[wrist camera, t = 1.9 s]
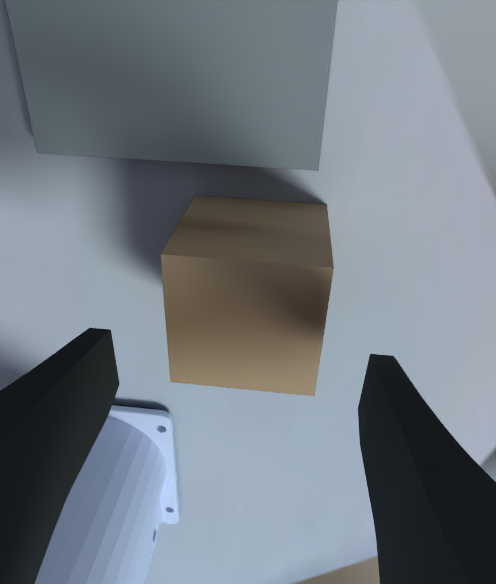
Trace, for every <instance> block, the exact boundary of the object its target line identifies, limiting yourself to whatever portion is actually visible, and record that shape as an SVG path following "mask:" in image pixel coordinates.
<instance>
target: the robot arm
mask: <svg viewBox="0 0 496 584" xmlns="http://www.w3.org/2000/svg"><path fill="white" fill-rule="evenodd" d="M118 386H119V379H118V372H117V366H116V360H115V354H114V347H113V341H112V335H111V330H107V329H97V328H89V329H87V330H86V331H85V332H83V333H82V334H80V335H79V336H78V337H76V338H75V339H73V340H72V341H71V342H69V343H68V344H67V345H65V346H64V347H63V348H61V349H60V350H59V351H57V352H56V353H55V354H53V355H52V356H50V357H49V358H48V359H46V360H45V361H43V362H42V363H41V364H39V365H38V366H37V367H35V368H34V369H32V370H31V371H30V372H28V373H27V374H25V375H23V376H22V377H20V378H19V379H17V380H16V381H14V382H13V383H11V384H10V385H8V386H7V387H5V388H4V389H2V390H1V391H0V584H145V581H146V577H147V574H148V570H149V567H150V563H151V559H152V556H153V552H154V549H155V545H156V542H157V538H158V534H159V531H160V527H161V524H162V523H166V524H176V523H177V522H178V521H179V517H180V512H179V499H178V487H177V474H176V462H175V449H174V437H173V424H172V417H171V415H170V414H169V413H168V412H166V411H163V410H154V409H144V408H135V407H125V406H115V405H112V404H113V401H114V398H115V395H116V392H117V389H118ZM358 416H359V435H360V446H361V452H362V457H363V463H364V469H365V474H366V480H367V486H368V491H369V497H370V502H371V508H372V513H373V519H374V525H375V532H376V540H377V551H378V564H379V576H380V584H496V482H495V481H494V480H493V479H492V478H491V477H490V476H489V475H488V474H487V473H486V472H485V471H484V470H483V469H482V468H481V467H480V466H479V465H478V464H477V463H476V462H475V461H474V460H473V459H472V458H471V457H470V456H469V455H468V454H467V452H466V451H465V450H464V449H463V448H462V447H461V446H460V444H459V443H458V442H457V441H456V440H455V439H454V437H453V436H452V435H451V434H450V433H449V432H448V430H447V429H446V428H445V427H444V425H443V424H442V423H441V422H440V420H439V419H438V418H437V416H436V415H435V414H434V412H433V411H432V410H431V409H430V407H429V406H428V405H427V403H426V402H425V401H424V399H423V398H422V396H421V395H420V394H419V392H418V391H417V389H416V388H415V387H414V385H413V384H412V382H411V381H410V379H409V378H408V376H407V375H406V373H405V372H404V370H403V369H402V367H401V366H400V364H399V363H398V361H397V360H396V359H395V357H394V356H387V355H376V354H370V357H369V362H368V366H367V371H366V375H365V380H364V384H363V389H362V393H361V398H360V402H359V407H358ZM163 426H164V427H163Z"/></svg>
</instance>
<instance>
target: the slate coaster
mask: <svg viewBox="0 0 496 584" xmlns="http://www.w3.org/2000/svg"><path fill="white" fill-rule="evenodd" d="M5 2H6V6H7V11H8V16H9V21H10V26H11V30H12V35H13V40H14V45H15V49H16V54H17V59H18V64H19V68H20V73H21V78H22V83H23V88H24V92H25V97H26V102H27V107H28V111H29V116H30V121H31V126H32V130H33V135H34V140H35V145H36V150H37V153H45V154H61V155H77V156H93V157H109V158H125V159H141V160H157V161H172V162H188V163H204V164H220V165H236V166H252V167H268V168H284V169H300V170H316V171H318V169H319V161H320V152H321V143H322V134H323V125H324V117H325V108H326V99H327V90H328V82H329V73H330V64H331V55H332V47H333V38H334V29H335V20H336V11H337V3H338V0H5Z"/></svg>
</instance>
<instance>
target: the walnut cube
mask: <svg viewBox="0 0 496 584" xmlns="http://www.w3.org/2000/svg"><path fill="white" fill-rule="evenodd" d="M160 255H161V268H162V281H163V294H164V306H165V319H166V332H167V344H168V357H169V370H170V382H176V383H186V384H197V385H207V386H217V387H227V388H237V389H247V390H257V391H267V392H278V393H288V394H298V395H308V396H315V389H316V382H317V376H318V369H319V362H320V356H321V349H322V342H323V336H324V329H325V322H326V315H327V309H328V302H329V295H330V289H331V282H332V275H333V269H334V267H333V258H332V248H331V239H330V230H329V221H328V211H327V204H314V203H299V202H284V201H270V200H255V199H240V198H226V197H211V196H196V195H195V196H194V198H193V200H192V201H191V203H190V205H189V206H188V208H187V210H186V211H185V213H184V215H183V217H182V218H181V220H180V222H179V223H178V225H177V227H176V229H175V230H174V232H173V234H172V235H171V237H170V239H169V240H168V242H167V244H166V246H165V247H164V249H163V251H162V252H161V254H160Z"/></svg>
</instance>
